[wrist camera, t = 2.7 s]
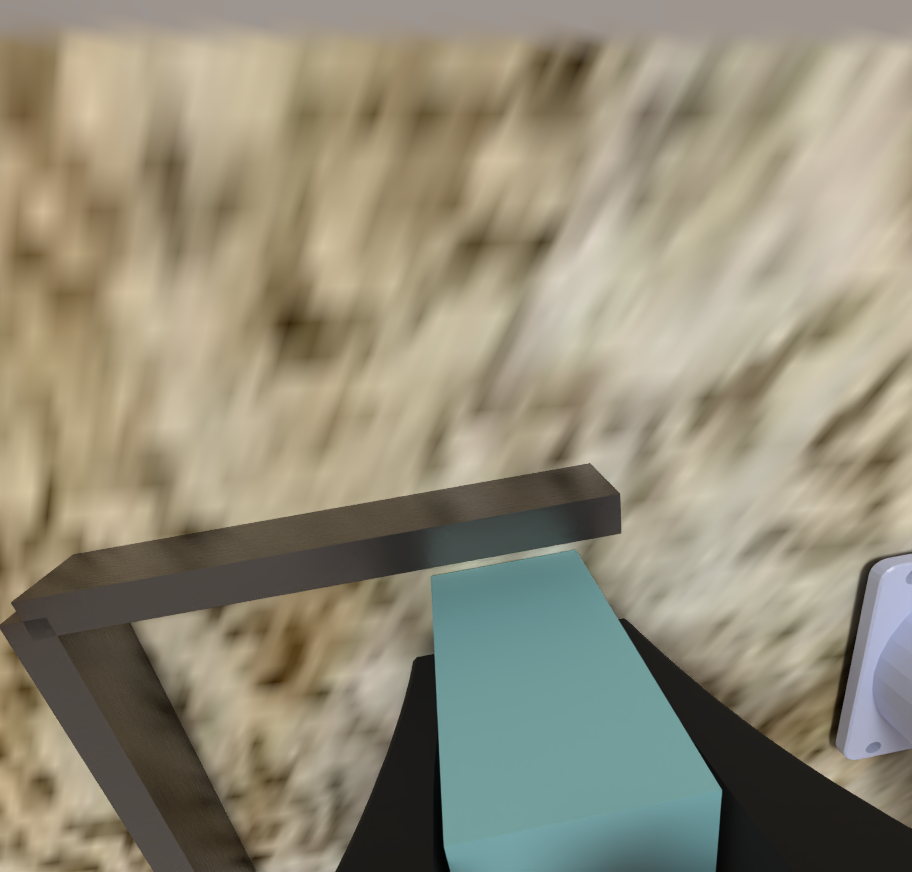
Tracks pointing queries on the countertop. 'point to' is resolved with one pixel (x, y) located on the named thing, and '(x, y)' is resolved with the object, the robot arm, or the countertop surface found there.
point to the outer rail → (239, 580)
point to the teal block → (559, 732)
